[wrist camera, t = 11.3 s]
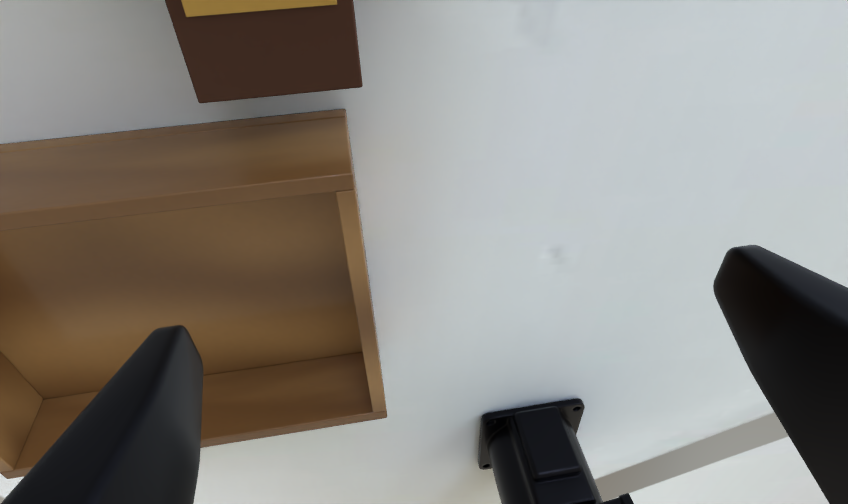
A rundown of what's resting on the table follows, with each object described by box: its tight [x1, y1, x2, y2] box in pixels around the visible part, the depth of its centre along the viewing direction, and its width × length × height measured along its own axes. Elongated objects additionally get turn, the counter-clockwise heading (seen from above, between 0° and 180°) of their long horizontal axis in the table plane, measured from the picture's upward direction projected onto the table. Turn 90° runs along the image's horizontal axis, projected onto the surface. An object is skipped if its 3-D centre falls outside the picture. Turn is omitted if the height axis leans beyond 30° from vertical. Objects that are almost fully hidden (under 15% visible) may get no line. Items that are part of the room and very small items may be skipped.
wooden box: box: [0, 109, 387, 479], centre depth 21 cm, size 13×16×4 cm
